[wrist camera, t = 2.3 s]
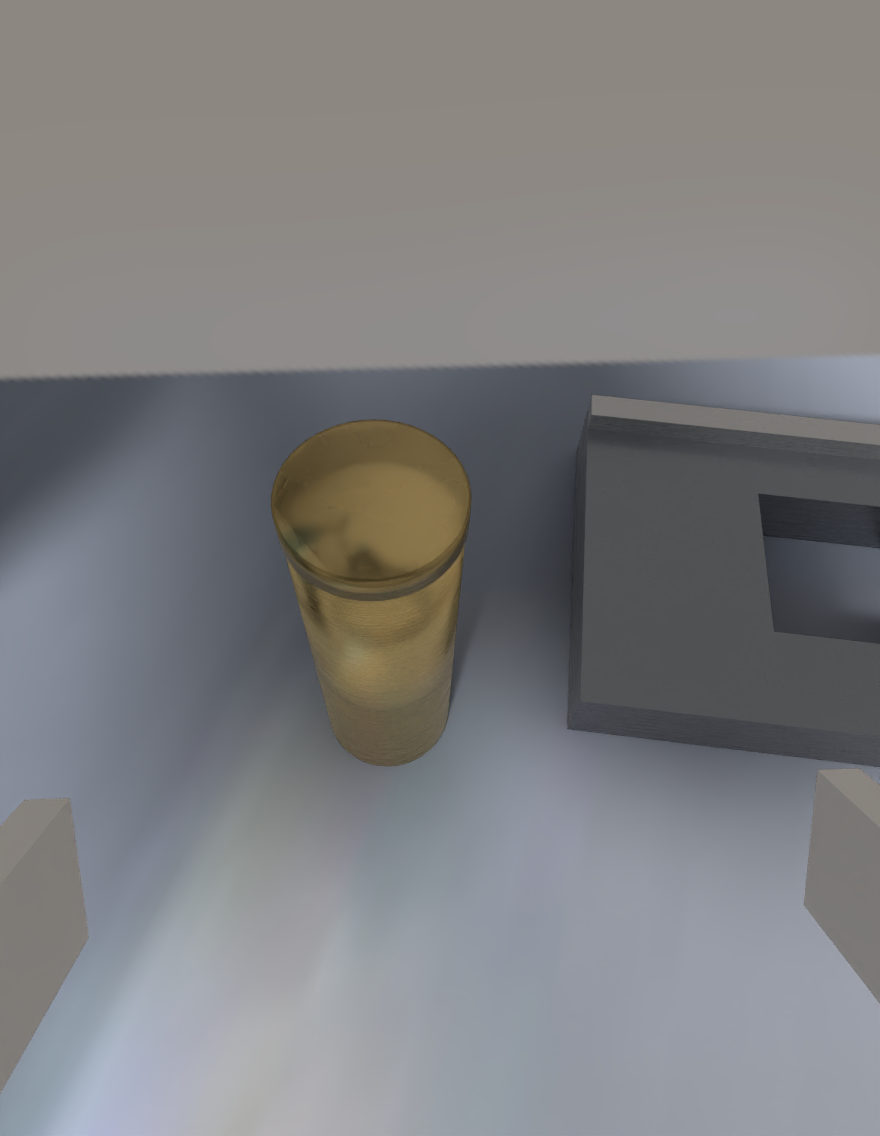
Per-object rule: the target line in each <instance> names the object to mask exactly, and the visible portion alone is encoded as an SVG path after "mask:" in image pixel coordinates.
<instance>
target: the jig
mask: <svg viewBox="0 0 880 1136" xmlns="http://www.w3.org/2000/svg"><path fill="white" fill-rule="evenodd" d="M763 535H766V536H775V537H784V538H793V539H802V540H811V541H820V542H829V543H839V544H848V545H857V546H866V547H875V548H880V425H877V424H867V423H857V422H848V421H838V420H829V419H819V418H810V417H800V416H790V415H781V414H771V413H762V412H752V411H743V410H733V409H723V408H714V407H704V406H695V405H685V404H676V403H666V402H656V401H647V400H637V399H628V398H618V397H609V396H599V395H592V397H591V400H590V404H589V408H588V412H587V415H586V419H585V423H584V426H583V430H582V434H581V437H580V441H579V445H578V448H577V458H576V487H575V516H574V545H573V574H572V603H571V632H570V661H569V690H568V719H567V729H572V730H580V731H588V732H597V733H605V734H613V735H621V736H630V737H638V738H646V739H654V740H663V741H671V742H679V743H688V744H696V745H704V746H712V747H721V748H729V749H737V750H745V751H754V752H762V753H770V754H778V755H787V756H795V757H803V758H812V759H820V760H828V761H836V762H845V763H853V764H861V765H869V766H878V767H880V644H878V643H869V642H861V641H852V640H843V639H835V638H826V637H817V636H809V635H800V634H791V633H782V632H774V626H773V618H772V609H771V601H770V592H769V583H768V575H767V566H766V557H765V549H764V540H763Z"/></svg>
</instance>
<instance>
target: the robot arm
mask: <svg viewBox="0 0 880 1136" xmlns="http://www.w3.org/2000/svg"><path fill="white" fill-rule="evenodd" d="M804 906H805V907H806V909H807V910H808V911H809V912H810V914H811V915H812V916H813V918H814V919H815V920H816V921H817V923H818V924H819V925H820V927H821V928H822V929H823V931H824V932H825V933H826V934H827V936H828V937H829V938H830V940H831V941H832V942H833V943H834V945H835V946H836V947H837V949H838V950H839V951H840V953H841V954H842V955H843V956H844V958H845V959H846V960H847V962H848V963H849V964H850V965H851V967H852V968H853V969H854V971H855V972H856V973H857V974H858V976H859V977H860V978H861V980H862V981H863V982H864V984H865V985H866V986H867V987H868V989H869V990H870V991H871V993H872V994H873V995H874V996H875V998H876V999H877V1000H878V1002H879V1003H880V785H879V784H877V783H876V782H875V781H874V780H873V779H872V778H870V777H869V776H868V775H867V774H866V773H864V772H863V771H862V770H861V769H860V768H854V769H827V770H817V780H816V790H815V799H814V809H813V819H812V829H811V838H810V848H809V858H808V868H807V877H806V887H805V897H804ZM88 938H89V935H88V928H87V921H86V913H85V906H84V899H83V891H82V884H81V877H80V869H79V862H78V855H77V847H76V840H75V832H74V825H73V818H72V810H71V803H70V798H63V799H37V800H24V801H23V802H22V803H21V804H20V805H19V806H18V807H17V809H16V810H15V811H14V812H13V813H12V814H11V815H10V816H9V817H8V818H7V820H6V821H5V822H4V823H3V824H2V825H1V826H0V1093H1V1091H2V1090H3V1088H4V1086H5V1084H6V1083H7V1081H8V1079H9V1077H10V1075H11V1074H12V1072H13V1070H14V1068H15V1067H16V1065H17V1063H18V1061H19V1060H20V1058H21V1056H22V1054H23V1053H24V1051H25V1049H26V1047H27V1045H28V1044H29V1042H30V1040H31V1038H32V1037H33V1035H34V1033H35V1031H36V1030H37V1028H38V1026H39V1024H40V1023H41V1021H42V1019H43V1017H44V1015H45V1014H46V1012H47V1010H48V1008H49V1007H50V1005H51V1003H52V1001H53V1000H54V998H55V996H56V994H57V993H58V991H59V989H60V987H61V985H62V984H63V982H64V980H65V978H66V977H67V975H68V973H69V971H70V970H71V968H72V966H73V964H74V962H75V961H76V959H77V957H78V955H79V954H80V952H81V950H82V948H83V947H84V945H85V943H86V941H87V940H88Z"/></svg>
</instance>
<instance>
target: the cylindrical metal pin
mask: <svg viewBox="0 0 880 1136" xmlns="http://www.w3.org/2000/svg"><path fill="white" fill-rule="evenodd" d="M271 509H272V516H273V520H274V524H275V527H276V531H277V535H278V538H279V542H280V545H281V548H282V550H283V552H284V555H285V557H286V559H287V563H288V566H289V570H290V574H291V577H292V581H293V585H294V589H295V592H296V596H297V600H298V603H299V607H300V611H301V615H302V618H303V622H304V626H305V630H306V633H307V637H308V641H309V644H310V648H311V652H312V656H313V659H314V663H315V667H316V670H317V674H318V678H319V682H320V685H321V689H322V693H323V697H324V700H325V704H326V708H327V711H328V715H329V719H330V723H331V726H332V729H333V732H334V734H335V736H336V738H337V739H338V741H339V742H340V744H341V745H342V746H343V747H344V748H345V749H346V750H347V751H348V752H349V753H350V754H352V755H353V756H355V757H356V758H358V759H360V760H362V761H364V762H367V763H370V764H373V765H379V766H396V765H401V764H405V763H408V762H411V761H413V760H415V759H417V758H419V757H421V756H422V755H424V754H425V753H426V752H428V751H429V750H430V749H431V748H432V747H433V746H434V745H435V744H436V742H437V741H438V740H439V738H440V737H441V735H442V733H443V731H444V728H445V725H446V722H447V717H448V710H449V699H450V689H451V679H452V669H453V658H454V648H455V638H456V627H457V617H458V607H459V597H460V586H461V576H462V566H463V556H464V545H465V541H466V538H467V533H468V528H469V519H470V509H471V490H470V484H469V480H468V477H467V474H466V472H465V470H464V468H463V466H462V464H461V463H460V461H459V460H458V458H457V457H456V455H455V454H454V453H453V452H452V451H451V450H450V449H449V448H448V447H447V446H446V445H445V444H444V443H443V442H441V441H440V440H439V439H437V438H436V437H434V436H433V435H431V434H429V433H427V432H425V431H423V430H421V429H419V428H416V427H414V426H411V425H407V424H404V423H400V422H394V421H388V420H360V421H353V422H348V423H344V424H340V425H336V426H334V427H331V428H328V429H326V430H324V431H321V432H319V433H317V434H315V435H314V436H312V437H311V438H309V439H308V440H306V441H305V442H303V443H302V444H301V445H300V446H298V447H297V448H296V449H295V450H294V451H293V452H292V453H291V454H290V455H289V457H288V458H287V459H286V461H285V462H284V463H283V465H282V467H281V468H280V470H279V472H278V474H277V476H276V479H275V482H274V485H273V490H272V495H271Z"/></svg>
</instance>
